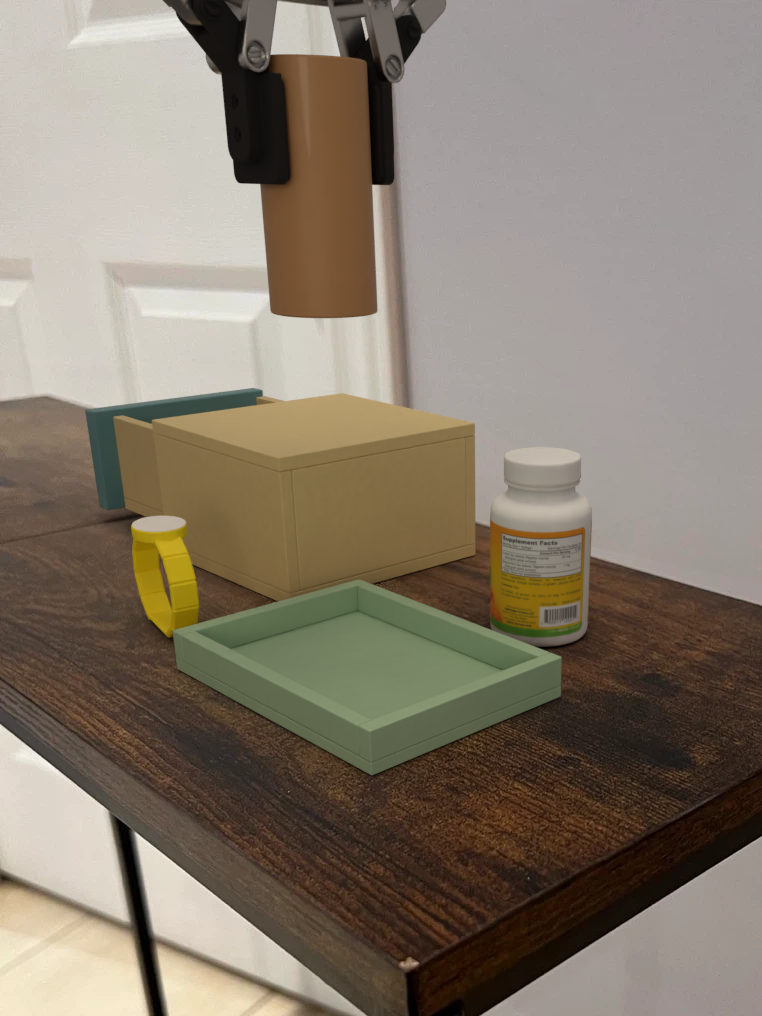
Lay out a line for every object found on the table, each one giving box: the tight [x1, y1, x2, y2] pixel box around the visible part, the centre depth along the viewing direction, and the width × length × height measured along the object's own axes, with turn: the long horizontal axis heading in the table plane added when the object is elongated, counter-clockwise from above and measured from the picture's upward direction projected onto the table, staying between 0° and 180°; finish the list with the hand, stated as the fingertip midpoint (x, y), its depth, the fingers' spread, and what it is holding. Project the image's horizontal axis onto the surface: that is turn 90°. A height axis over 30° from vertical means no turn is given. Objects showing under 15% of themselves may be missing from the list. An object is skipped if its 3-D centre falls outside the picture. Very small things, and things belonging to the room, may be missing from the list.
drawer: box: [84, 387, 284, 518], centre depth 81 cm, size 17×13×7 cm
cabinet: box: [152, 392, 476, 602], centre depth 73 cm, size 14×15×9 cm
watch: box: [130, 516, 200, 639], centre depth 61 cm, size 6×3×6 cm, turn 36°
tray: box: [172, 579, 563, 776], centre depth 56 cm, size 16×12×2 cm
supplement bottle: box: [489, 446, 593, 648], centre depth 61 cm, size 5×5×10 cm
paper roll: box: [259, 53, 379, 319], centre depth 50 cm, size 5×5×10 cm
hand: (316, 179), depth 50 cm, fingers closed on paper roll, 4 cm apart
